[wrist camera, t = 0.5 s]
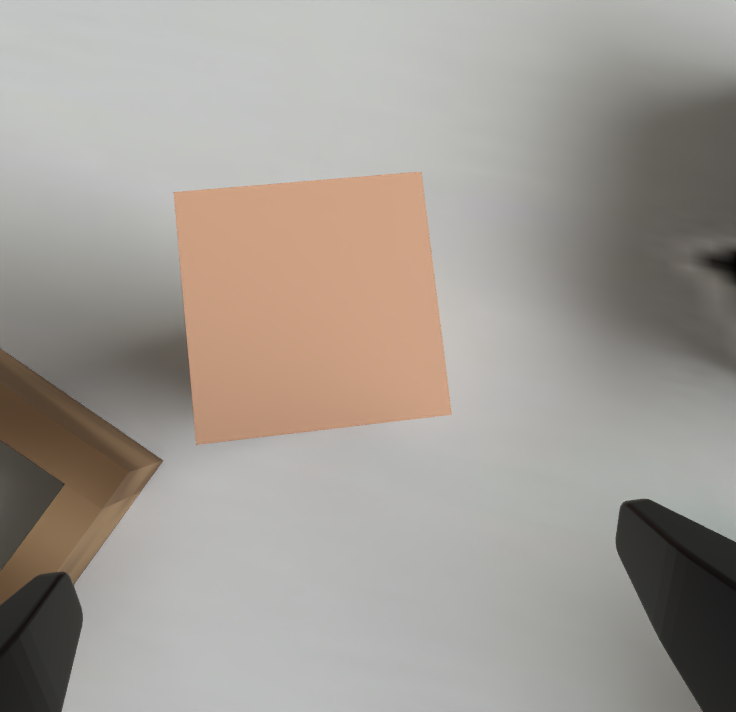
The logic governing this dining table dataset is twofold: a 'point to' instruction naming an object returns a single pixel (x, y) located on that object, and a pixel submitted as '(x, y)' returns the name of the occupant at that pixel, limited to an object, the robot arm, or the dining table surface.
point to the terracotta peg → (310, 306)
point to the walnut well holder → (66, 474)
